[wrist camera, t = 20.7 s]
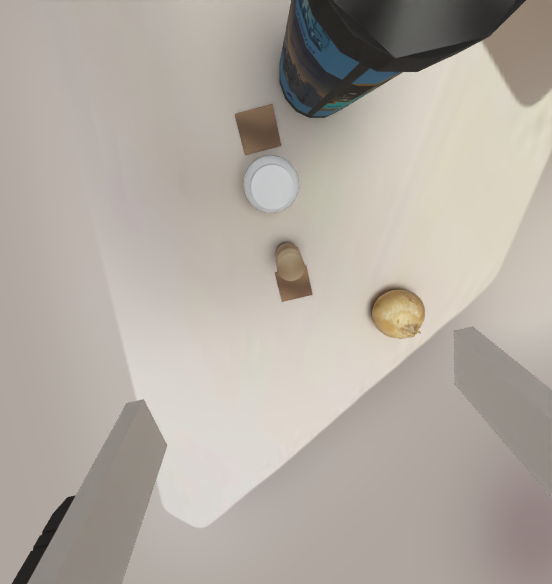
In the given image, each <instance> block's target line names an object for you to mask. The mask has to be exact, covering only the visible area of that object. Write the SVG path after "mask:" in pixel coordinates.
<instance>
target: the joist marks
mask: <svg viewBox="0 0 552 584" xmlns="http://www.w3.org/2000/svg"><path fill="white" fill-rule="evenodd" d="M235 117H236V121H237V125H238V129H239V133H240V137H241V141H242V145H243V149H244V153H245V155H247V154H251V153H255V152H259V151H263V150H267V149H270V148H274V147H278V146H281V143H280V138H279V133H278V128H277V124H276V119H275V114H274V109H273V105H272V104H271V105H267V106H263V107H259V108H256V109H252V110H248V111H244V112H241V113H237V114H235ZM275 275H276V279H277V283H278V287H279V291H280V295H281V299H282V302H283V301H288V300H292V299H296V298H301V297H305V296H309V295H312V290H311V286H310V281H309V276H308V271H307V267H306V266H305V271H304V273H303V275H302V276H301V277H300V278H299V279H297V280H295V281H287V280H284V279H283V278H281V277H280V275H279V274H278V272H277V273H275Z"/></svg>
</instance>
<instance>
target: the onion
mask: <svg viewBox="0 0 552 584" xmlns="http://www.w3.org/2000/svg"><path fill="white" fill-rule="evenodd" d="M424 316H425V310H424V305H423V302H422V301H421V299H420V298H419V297H418V296H417V295H416V294H414V293H412V292H409V291H406V290H392V291H389V292H386V293H385V294H383V295H381V296H380V297H379V298H378V299H377V300H376V302H375V304H374V306H373V310H372V318H373V321H374V324H375V326H376V327H377V329H378V330H379V331H381V332H382V333H383V334H385V335H386V336H388V337H392V338H399V339H403V338H408V337H410V338H411V337H413V336H415V334H417V333H421V332H420V331H417V330H418V329H419V328H420V327H421V325H422V323H423V321H424Z"/></svg>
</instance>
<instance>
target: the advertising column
mask: <svg viewBox="0 0 552 584" xmlns="http://www.w3.org/2000/svg"><path fill="white" fill-rule="evenodd" d="M524 1H526V0H291V5H290V11H289V16H288V21H287V27H286V32H285V37H284V43H283V48H282V54H281V59H280V85H281V87H282V90H283V93H284V96H285V99H286V100H287V101H288V102H289V103H290V105H291V106H292V107H293V108H294V109H295V111H297V112H299V113H301V114H303V115H305V116H307V117H309V118H325V117H327V116H329V115H331V114H333V113H335V112H338V111H339V110H341V109H343V108H344V107H346V106H348V105H349V104H351V103H353V102H354V101H356V100H358V99H359V98H361V97H363V96H364V95H366V94H368V93H369V92H371V91H373V90H374V89H376V88H378V87H379V86H381V85H383V84H384V83H386V82H387V81H389V80H391V79H392V78H394V77H396V76H397V75H399V74H401V73H402V72H418V71H420V70H423V69H425V68H427V67H429V66H431V65H433V64H436V63H438V62H440V61H442V60H444V59H446V58H449V57H451V56H453V55H455V54H457V53H459V52H461V51H463V50H465V49H467V48H469V47H470V46H472V45H474V44H476V43H478V42H480V41H482V40H484V39H485V38H487V37H489V36H490V35H491V34H492V33H493V32H494V31H495V30H496V29H497V28H498V27H499V26H500V25H501V24H502V23H503V22H504V21H505V20H506V19H508V17H510V15H512V14H513V13H514V12H515V10H517V9H518V8H519V7H520V6H521V5H522V4H523V3H524Z"/></svg>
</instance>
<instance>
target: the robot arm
mask: <svg viewBox="0 0 552 584" xmlns="http://www.w3.org/2000/svg"><path fill="white" fill-rule="evenodd" d="M454 366H455V367H454V368H455V369H454V371H455V385H456V386H457V388H458V389H459V390H460V391H461V392H462V393H463V395H464V396H465V397H466V398H467V399H468V400H469V402H470V403H471V404H472V405H473V406H474V407H475V409H476V410H477V411H478V412H479V414H480V415H481V416H482V417H483V418H484V419H485V421H486V422H487V423H488V424H489V425H490V426H491V428H492V429H493V430H494V431H495V432H496V434H497V435H498V436H499V437H500V438H501V439H502V441H503V442H504V443H505V444H506V445H507V446H508V447H509V449H510V450H511V451H512V452H513V454H514V455H515V456H516V457H517V458H518V459H519V461H520V462H521V463H522V464H523V465H524V466H525V468H526V469H527V470H528V471H529V472H530V473H531V475H532V476H533V477H534V478H535V479H536V481H537V482H538V483H539V484H540V485H541V486H542V488H543V489H544V490H545V491H546V492H547V494H548V495H549V496H550V497H551V498H552V390H551V389H550V388H549V387H547V386H546V385H545V384H544V383H542V382H541V381H540V380H539V379H537V378H536V377H535V376H534V375H532V374H531V373H530V372H529V371H528V370H526V369H525V368H524V367H523V366H521V365H520V364H519V363H518V362H516V361H515V360H514V359H513V358H511V357H510V356H509V355H508V354H506V353H505V352H504V351H503V350H501V349H500V348H499V347H498V346H496V345H495V344H494V343H493V342H491V341H490V340H489V339H487V338H486V337H485V336H484V335H482V334H481V333H480V332H479V331H478V330H476V329H475V328H474V327H469V328H464V329H460V330H455V331H454ZM166 448H167V444H166V442H165V440H164V438H163V436H162V434H161V432H160V430H159V428H158V426H157V424H156V422H155V420H154V418H153V416H152V415H151V413H150V411H149V409H148V407H147V405H146V403H145V401H144V399H143V400H139V401H134V402H130V403H126V405H125V407H124V409H123V411H122V413H121V415H120V416H119V418H118V420H117V422H116V423H115V425H114V427H113V429H112V431H111V433H110V434H109V436H108V438H107V440H106V442H105V444H104V445H103V447H102V449H101V451H100V453H99V454H98V456H97V458H96V460H95V462H94V464H93V465H92V467H91V469H90V471H89V472H88V474H87V476H86V478H85V480H84V482H83V483H82V485H81V487H80V489H79V491H78V492H77V494H76V495H75V496H71V497H68V498H66V500H65V501H64V502H63V503H62V504H61V505H60V506H59V507H58V509H57V510H56V511H55V512H54V513H53V514H52V516H51V518H50V520H49V521H48V523H47V525H46V526H45V528H44V530H43V532H42V535H41V536H40V537H39V538H38V540H37V542H36V544H35V545H34V547H33V551H31V552H30V554H29V555H28V557H27V559H26V561H25V562H24V564H23V566H22V567H21V569H20V571H19V572H18V574H17V576H16V578H15V579H14V581H13V583H12V584H122V581H123V579H124V576H125V573H126V569H127V566H128V563H129V560H130V557H131V554H132V551H133V548H134V545H135V542H136V539H137V536H138V533H139V529H140V527H141V524H142V521H143V518H144V515H145V512H146V509H147V506H148V503H149V499H150V496H151V493H152V490H153V487H154V484H155V481H156V478H157V475H158V472H159V469H160V466H161V463H162V460H163V457H164V454H165V451H166Z"/></svg>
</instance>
